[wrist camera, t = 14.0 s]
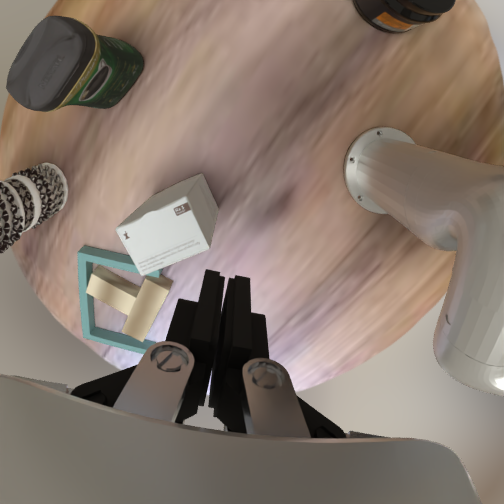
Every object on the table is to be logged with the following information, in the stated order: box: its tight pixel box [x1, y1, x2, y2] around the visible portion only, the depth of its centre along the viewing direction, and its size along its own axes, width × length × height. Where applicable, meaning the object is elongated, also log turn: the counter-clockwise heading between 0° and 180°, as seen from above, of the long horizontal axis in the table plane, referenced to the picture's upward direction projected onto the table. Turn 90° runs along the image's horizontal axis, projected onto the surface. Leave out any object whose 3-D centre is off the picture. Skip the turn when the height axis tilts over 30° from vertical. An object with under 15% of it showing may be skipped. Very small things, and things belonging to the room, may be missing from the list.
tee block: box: [86, 265, 173, 342], centre depth 47 cm, size 12×12×3 cm
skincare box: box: [115, 173, 219, 276], centre depth 36 cm, size 8×6×15 cm
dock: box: [78, 245, 163, 354], centre depth 48 cm, size 14×17×2 cm
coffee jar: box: [6, 16, 143, 112], centre depth 26 cm, size 10×8×19 cm
